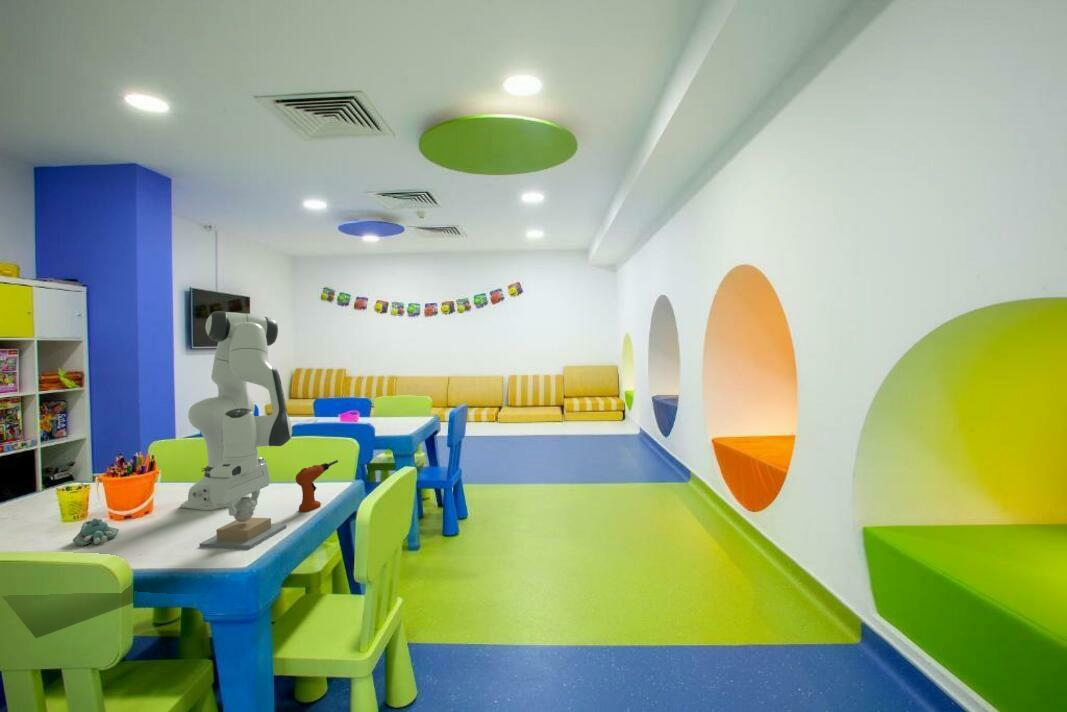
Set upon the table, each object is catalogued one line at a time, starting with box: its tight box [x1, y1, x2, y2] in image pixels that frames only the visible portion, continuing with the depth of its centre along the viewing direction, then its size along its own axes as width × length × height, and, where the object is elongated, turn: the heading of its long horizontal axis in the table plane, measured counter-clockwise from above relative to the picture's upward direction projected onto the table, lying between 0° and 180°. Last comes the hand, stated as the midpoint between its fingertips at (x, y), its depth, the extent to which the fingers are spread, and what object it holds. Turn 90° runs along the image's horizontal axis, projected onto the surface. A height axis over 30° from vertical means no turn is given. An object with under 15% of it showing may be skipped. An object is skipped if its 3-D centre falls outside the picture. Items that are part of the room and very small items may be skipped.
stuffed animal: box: [72, 517, 120, 546], centre depth 152 cm, size 11×7×12 cm
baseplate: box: [199, 517, 287, 550], centre depth 151 cm, size 16×16×4 cm
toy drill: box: [295, 459, 339, 513], centre depth 180 cm, size 5×19×15 cm, turn 156°
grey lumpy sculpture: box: [233, 496, 257, 522], centre depth 151 cm, size 6×7×7 cm
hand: (243, 510), depth 151 cm, fingers closed on grey lumpy sculpture, 7 cm apart
